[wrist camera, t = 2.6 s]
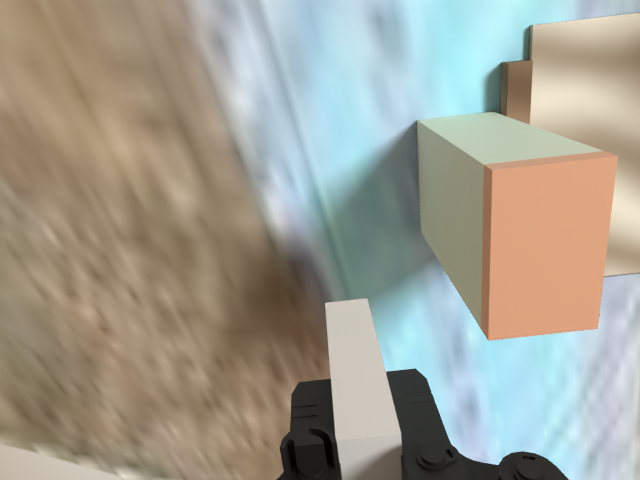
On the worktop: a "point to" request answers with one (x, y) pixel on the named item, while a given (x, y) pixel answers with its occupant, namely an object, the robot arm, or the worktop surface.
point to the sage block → (516, 221)
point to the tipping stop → (588, 107)
